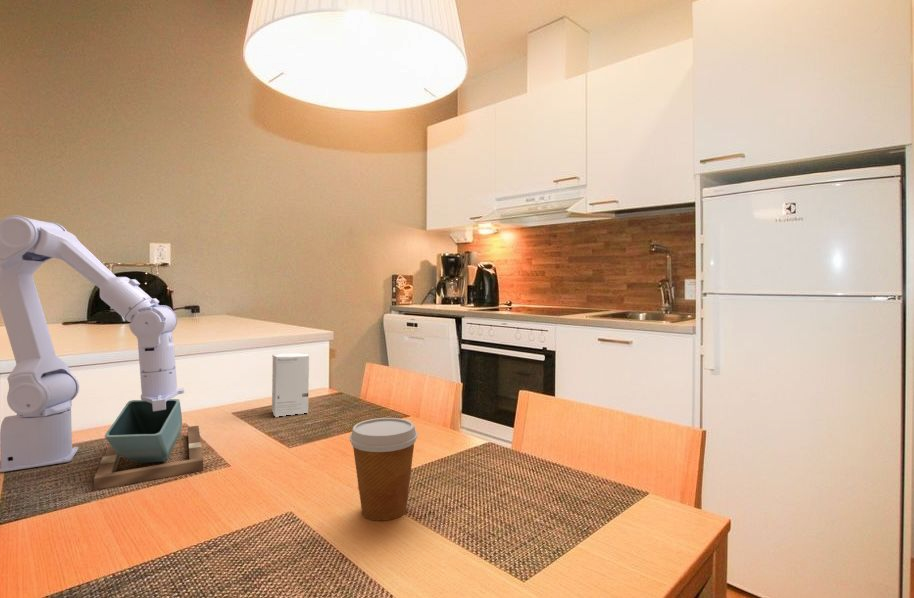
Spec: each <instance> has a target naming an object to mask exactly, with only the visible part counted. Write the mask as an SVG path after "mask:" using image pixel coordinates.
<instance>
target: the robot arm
mask: <svg viewBox="0 0 914 598" xmlns="http://www.w3.org/2000/svg"><path fill="white" fill-rule="evenodd" d="M53 258H54V259H58V260H62V261H63V262H64V263H66V264H67V265H68V266H70V267H71V268H72V269H73V270H75V271H76V272H78V273H79V274H80V275H81V276H83V277H84V278H86V279H87V280H88V281H90V282H91V283H92V284H93V285H94V286H96V287H97V288H99V298H100V299H101V301H103V302H104V303H105V304H106V305H108V306H109V307H110V308H111V309H112V310H114V312H116V313H118V315H119V316H120V317H122V318H123V319H125V320H126V321H127V323H128V322H129V324H128V326H129V329H130V332H131V333H132V334H133V335H134V336H135V337H136V339H137V348H138V349H137V351H138V359H139V361H138V362H139V376H140V377H139V378H140V387H141V389H140V390H141V395H140V400H146V401H147V402H149V403H152V407H153V411H159V410H166V402H167V401H168V400H169V399H174V397H176V396H178V395H182V394H184V393H185V388H183V387H182V388H178V381H177V370H176V367H177V365H176V356H175V355H176V354H175V344H174V342H175V341H174V331H175V329H176V327H177V324H178V317H177V314H176V313H175V312H174V310H173V309H172V308H171V306H168V305H166V304H165V305H164V304H163V305H162V304H161V305H160V304H159V303H160V300H158V299H157V298H156V297H155V298H152V296H150V295H149V294H148V293H147V292H145V290H143V289H142V288H141V287H140V285H141V283H140V282H139V281H138V280H137V279H136V278H134V279H131V278H129V277H127V276H116V275H115V274H114V273H113V272H112V271H111V270H110V269H109V268H108V267H106V266H105V264H103V263H102V261H100V260H99V259H98V258H97V256H95V255H94V254H93V253H92V252H91V251H90V250H89V249H88V248H87V247H86V246H85V245H84V244H82V242H80V241H79V239H78V238H77V236H76V235H75V234H73V233H72V232H70V231H68V230H67V229H66V228H65V227H64V226H63V225H61V224H60V223H57V222H52V221H43V220H38V219H34V218H28V217H25V216H24V215H23V216H22V215H19V214H18V215H16V214H15V215H14V214H13V215H9V216H5V217H4V218H2V219H1V220H0V313H1V316H2V317H1V318H2V320H3V323H4V326H5V330H6V334H7V337H8V340H9V344H10V347H11V350H12V353H13V357H14V360H15V363H16V364H15V366H14V367H13V369H12V371H11V372H10V373H9V374H8V376H7V378H6V379H7V382H8V392H7V396H6V402H7V405H8V407H9V408H10V409H11V410H12V412H14V413H15V415H9V416H5V417H4V418H3V420H2V421H1V424H0V473H3V472H4V473H5V472H11V471H17V470H24V469H31V468H36V467H37V468H38V467H45V466H50V465H56V464H63V463H69V462H71V461H72V460H73V458H74V457H75V454H76V453H77V452H78V451H79V447H78V446H74V447H73V436H72V435H73V434H72V433H73V432H72V406H73V404H72V403H73V402H72V401H73V400H74V399H75V398H76V397H77V396H78V394H79V391H80V382H79V380H78V378H76V376H75V375H74V374H72V372H71V370H70V368H69V364H68V363H67V362H66V361H64V360H63V359H61V358H60V357H58V356H57V355H56V351H55V347H54V344H53V341H52V336H51V334H50V331H49V327H48V323H47V320H46V316H45V313H44V310H43V306H42V303H41V299H40V296H39V293H38V289H37V285H36V283H35V278H34V273H35V272H36V271H37V270H38V269H39V268H40V267H41V266H42V265H43V264H45V263H47V262H49V261H50V260H52V259H53Z"/></svg>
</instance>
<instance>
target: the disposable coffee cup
mask: <svg viewBox="0 0 914 598" xmlns="http://www.w3.org/2000/svg"><path fill="white" fill-rule="evenodd" d="M418 434H419V433H418V431H417V430H416V428H415V423H414V422H412V421H410V420H407V419H404V418H398V417H377V418H371V419H367V420H362V421H360V422H357V423H356V424H355V425H353V427H352V430H351V434H350V435H349V438H348V439H349V442H350V443H351V445H352V448H353V456H354V463H355V471H356V477H357V485H358V486H357V487H358V493H359V500H360V507H361V514H362V516H363V517H364V518H367V519H369V520H372V521H381V522H384V521H390V520H395V519H397V518H399V517H401V516H402V515H404V514H405V513H406V512H407V507H408V506H407V505H408V498H409V491H410V482H411V475H412V467H413V464H412V463H413V457H414V449H415V448H414V447H415V446H414V445H415V443H416V441H417V439H418V436H419V435H418Z"/></svg>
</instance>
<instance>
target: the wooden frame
mask: <svg viewBox="0 0 914 598" xmlns="http://www.w3.org/2000/svg"><path fill="white" fill-rule="evenodd" d="M200 433H201V432H200V427H199V425H192V426H187V442H188V459H186V460H185V459H184V460H180V461H174V462H168V463H167V462H166V463H162V464H161V463H160V464H157V465H156V464H155V465H149V466H145V467H138V468H132V469H125V470H120V471H117V468H118V465H119V462H120V460H121V458H122V457H121V456H120V455H119V454H118V453H117V452H116V451H115V450H114V448H113V447H112V446H111V444H110V443H109V444H108V446H107V448H106V451H105V453H104V456H102V458H101V460H100V463H99V465H98V466H99V467H98V469H97V470H96V473H95V475H94V477H93V491H98V490H102V489H109V488H114V487H119V486H124V485H130V484H135V483H143V482H147V481H151V480H153V481H154V480H159V479H163V478H168V477H175V476H181V475H185V474H192V473H196V472H202V471H204V457H203V449H202V442H201V441H202V440H201V435H200Z"/></svg>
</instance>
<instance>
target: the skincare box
mask: <svg viewBox="0 0 914 598" xmlns="http://www.w3.org/2000/svg"><path fill="white" fill-rule="evenodd" d="M271 375H272V376H271V377H272V379H271V380H272V381H271V382H272V383H271V384H272V389H271V393H272V395H271V412H273V413H272V414H273V417H274V416H275V417H274V418H280V417H279V416H283V417H287V416H286V415H291V416H296V415H295V414H298V415H305V414H304V413H307V414H309V388H310V384H309V379H310V377H309V376H310V355H309V354H307V353H279V354H272V374H271Z"/></svg>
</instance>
